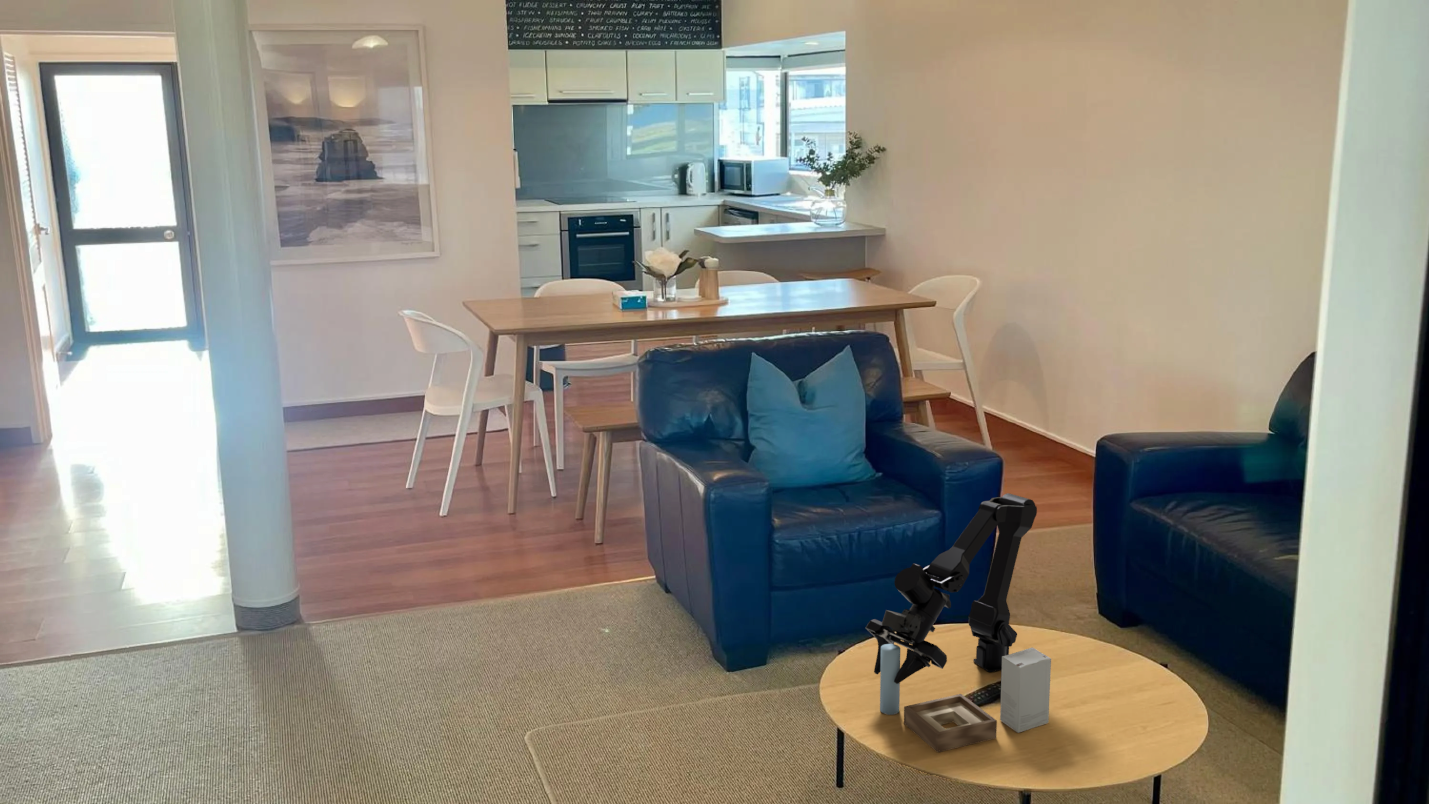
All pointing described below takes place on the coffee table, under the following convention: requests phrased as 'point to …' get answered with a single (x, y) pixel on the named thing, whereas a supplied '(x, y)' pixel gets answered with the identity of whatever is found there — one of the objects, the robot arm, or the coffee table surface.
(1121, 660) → the coffee table surface
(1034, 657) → the skincare box
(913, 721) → the bore box
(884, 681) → the peg
